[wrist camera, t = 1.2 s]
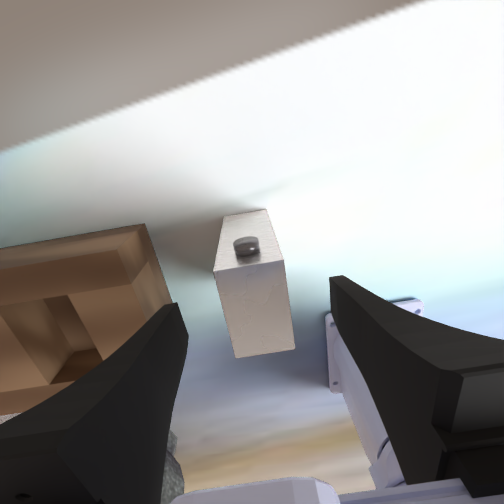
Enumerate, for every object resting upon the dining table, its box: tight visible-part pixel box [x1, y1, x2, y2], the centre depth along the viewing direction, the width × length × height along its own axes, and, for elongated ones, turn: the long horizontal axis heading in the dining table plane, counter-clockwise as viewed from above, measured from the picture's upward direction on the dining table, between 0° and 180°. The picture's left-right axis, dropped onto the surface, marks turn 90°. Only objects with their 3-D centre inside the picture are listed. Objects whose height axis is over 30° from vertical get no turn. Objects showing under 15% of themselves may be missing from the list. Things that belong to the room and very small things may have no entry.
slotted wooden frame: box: [0, 223, 173, 416], centre depth 19 cm, size 11×16×4 cm
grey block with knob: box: [213, 209, 295, 358], centre depth 16 cm, size 6×3×8 cm, turn 9°
